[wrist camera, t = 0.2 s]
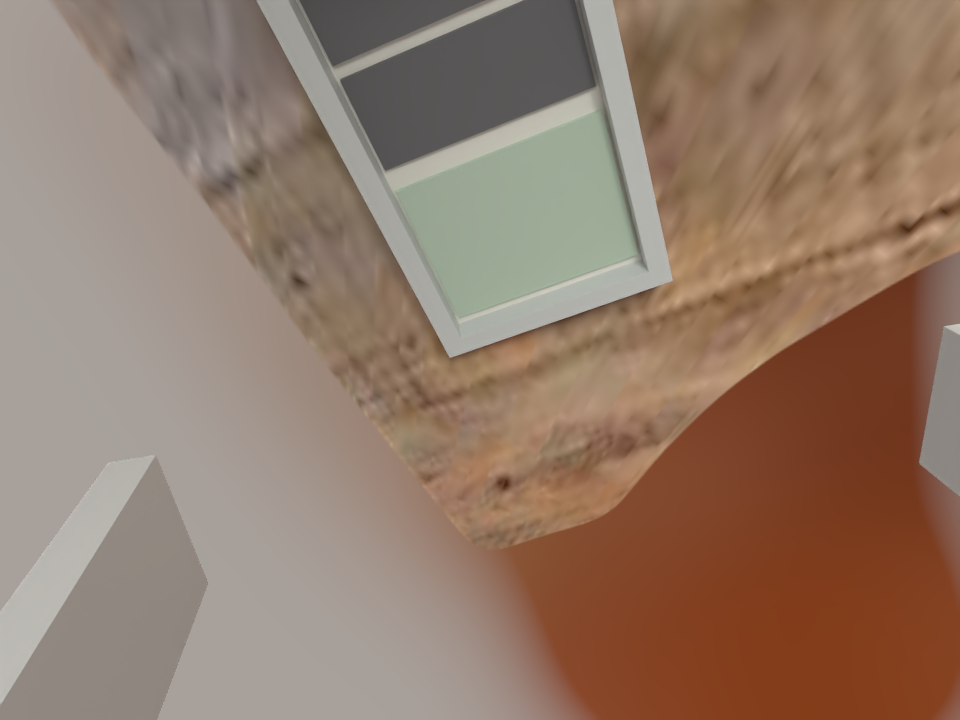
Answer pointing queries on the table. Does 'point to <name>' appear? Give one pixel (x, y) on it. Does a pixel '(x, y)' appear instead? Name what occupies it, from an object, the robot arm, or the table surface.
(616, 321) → the table surface
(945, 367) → the robot arm
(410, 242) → the box
